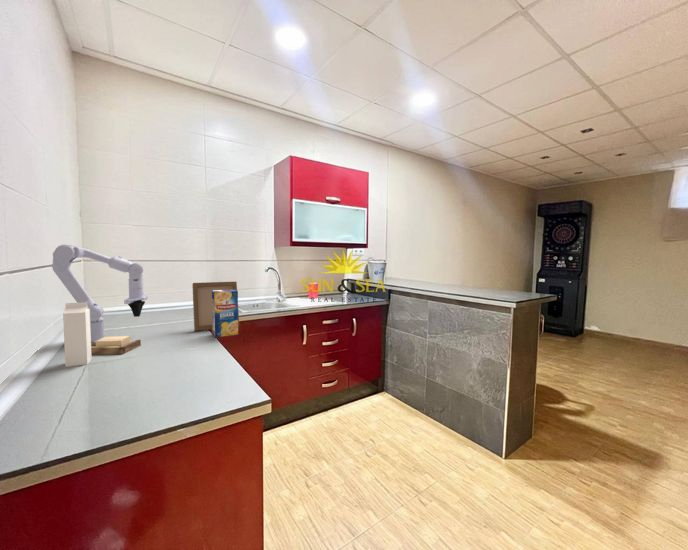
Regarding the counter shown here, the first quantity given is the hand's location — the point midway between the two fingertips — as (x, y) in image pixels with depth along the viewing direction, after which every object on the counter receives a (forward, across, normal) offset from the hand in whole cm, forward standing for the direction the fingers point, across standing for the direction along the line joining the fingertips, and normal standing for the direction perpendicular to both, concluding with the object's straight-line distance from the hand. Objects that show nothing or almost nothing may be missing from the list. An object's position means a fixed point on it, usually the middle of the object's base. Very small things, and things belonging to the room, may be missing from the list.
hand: (136, 316), depth 143 cm
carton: (+10, -22, -4) cm, 24 cm away
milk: (+10, -37, -2) cm, 38 cm away
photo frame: (+10, +17, -31) cm, 37 cm away
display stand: (+9, -21, -3) cm, 23 cm away
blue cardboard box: (+10, +2, -41) cm, 42 cm away
